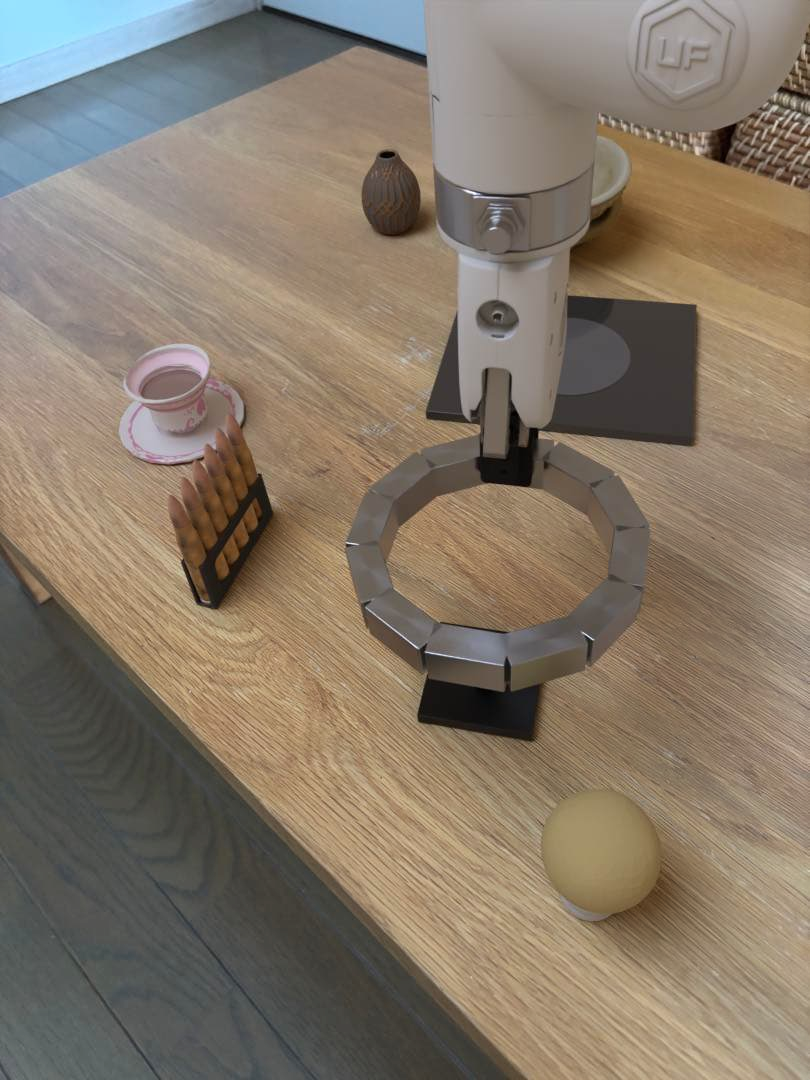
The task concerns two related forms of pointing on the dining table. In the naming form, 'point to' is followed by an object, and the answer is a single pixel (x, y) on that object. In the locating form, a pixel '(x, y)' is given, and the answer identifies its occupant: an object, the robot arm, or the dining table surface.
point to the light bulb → (600, 853)
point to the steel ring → (485, 652)
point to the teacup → (175, 405)
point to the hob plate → (609, 372)
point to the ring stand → (480, 706)
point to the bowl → (607, 186)
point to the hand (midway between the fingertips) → (509, 464)
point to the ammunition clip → (220, 515)
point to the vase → (390, 194)
